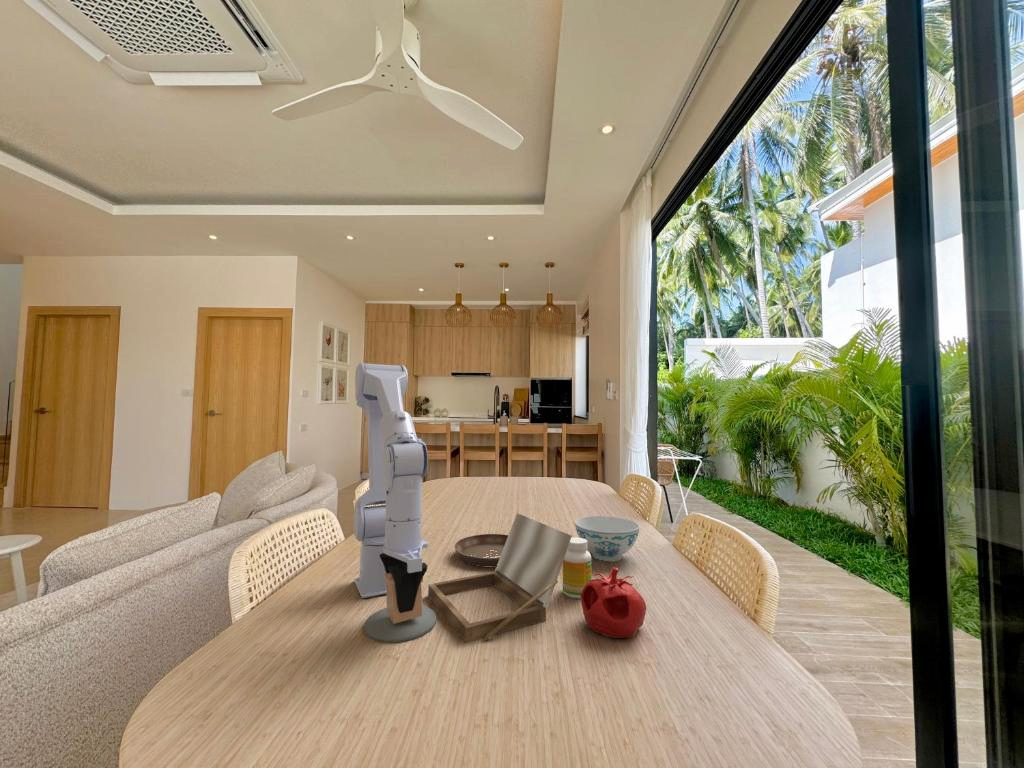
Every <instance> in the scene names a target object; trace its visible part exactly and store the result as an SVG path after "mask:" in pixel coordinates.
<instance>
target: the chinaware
mask: <svg viewBox="0 0 1024 768" xmlns="http://www.w3.org/2000/svg"><path fill="white" fill-rule="evenodd" d="M574 525H575V526H574V527H575V530H576V533H577V537H578V538H583V539H586V540H587V549H586V550H587V551H588V552H591V553H592V557H593V558H594V557H595V558H594V559H596V558H597V559H596V560H598V559H599V560H598V561H602V560H603V561H602V562H617V560H618V561H621V560H622V557H623V555H624V554H626V553H628V552H629V551H630V550H631V549H632V548H633V547H634V545H635V544H636V542H637V539H638V536H639V532H640V526H641V525H640V524H639V523H638V522H637V521H634V520H632V519H627V518H624V517H618V516H612V515H611V516H610V515H591V516H590V515H589V516H584V517H579V518H578V519H575V521H574Z"/></svg>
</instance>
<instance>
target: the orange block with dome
mask: <svg viewBox="0 0 1024 768" xmlns="http://www.w3.org/2000/svg"><path fill="white" fill-rule="evenodd" d="M384 580H385V581H386V594H385V595H386V597H385V598H386V608H387V613H388V615H389V617H390V619H391V621H392V622H393V624H395V623H398V622H402V621H406V620H409V619H413V618H416V617H420V616H422V606H423V599H422V598H423V597H422V583H424V577H423V578H422V580H421V582H420V585H419V588H418V592H417V596H416V600H415V604H414V608H413V610H412V611H408V612H403V613H400V612H399V610H398V606H397V599H396V590H395V584H394V581H393V578H392V575H391V573H387V574H384Z"/></svg>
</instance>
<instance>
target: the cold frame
mask: <svg viewBox="0 0 1024 768" xmlns="http://www.w3.org/2000/svg"><path fill="white" fill-rule="evenodd" d="M507 535H508V538H507V540H506V543H505V546H504V548H503V551H502V554H501V556H500V559H499V561H498V564H497V567H495V569H494V571H491V572H486V573H481V574H474V575H471V576H464V577H459V578H455V579H450V580H444V581H439V582H435V583H430V584H428V585H427V586H428V590H427V591H428V592H427V593H428V595H427V597H429V599H430V598H431V599H430V600H431V601H432V602H433V603H434V604H435V606H436V607H437V608H438V610H439V611H440V612H441V613H442V615H444V617H445V618H446V620H448V622H449V623H450V624H451V625H452V626H453V628H454V629H455V630H456V631H457V633H458V634H459V635H460V637H461V638H462V639H463V640H464V641H465V643H468V642H471V641H476V640H481V639H482V638H483V639H484V640H485V641H488V640H489V639H490V638H491V637H492V636H494V635H498V634H501V633H504V632H509V631H512V630H515V629H519V628H522V627H526V626H530V625H533V624H537V623H541V622H543V621H546V620H547V609H548V607H549V603H550V600H551V597H552V595H553V593H554V589H555V586H556V585H557V584H558V577H559V575H560V572H561V568H562V567H563V560H564V557H565V554H566V551H567V548H568V545H569V543H570V540H571V538H572V536H573V535H570V534H568V533H566V532H564V531H561V530H559V529H556V528H554V527H552V526H549V525H548V524H547V525H546V524H545V523H542V522H540V521H537V520H535V519H533V518H530V517H527V516H525V515H523V514H522V513H521V514H520V513H519V512H517V513H516V515H515V517H514V520H513V522H512V525H511V528H510V531H509V533H508V534H507ZM491 584H493V585H494V586H495V585H496V586H495V587H497V588H498V589H499V590H500V591H502V592H503V593H504V594H505V595H507V596H508V597H509V598H511V600H513V601H515V603H517V604H518V605H519V606H521V607H519V608H518V609H516V610H515V611H514V612H508V613H505V614H502V615H497V616H495V617H494V616H493V617H490V618H486V619H483V620H478V621H474V622H471V623H470V622H469V621H468V619H467V618H466V617H465V616H464V615H463V614H462V613H461V612H460V611H459V610H458V608H457V607H456V606H455V605H454V604H453V603H452V602H451V601H450V600H449V599H448V597H447V596H446V595H449V594H455V593H458V592H459V593H460V592H463V591H469V590H474V589H477V588H482V587H486V586H487V585H488V586H492V585H491Z"/></svg>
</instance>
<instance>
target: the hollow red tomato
mask: <svg viewBox="0 0 1024 768" xmlns="http://www.w3.org/2000/svg"><path fill="white" fill-rule="evenodd" d="M618 573H619V567H614V566H613V567H611V570H610V573H609V575H608V577H607V576H606V575H604V574H603V573H595V574H594V576H600V578H595V579H594V578H593V579H592V578H591V579H592V580H590V581H589V582H587V583H586V585H585V587H584V588H583V590H582V593H581V598H580V600H581V601H580V602H581V607H582V608H581V609H582V615H583V616H584V621H585V623H586V624H587V626H588V627H589V628H590V629H592V631H594V632H597V633H598V634H602V635H603V636H607V637H608V638H613V639H615V638H616V639H621V638H625V639H626V638H632V637H634V636H635V635H636V633H637V631H638V630H639V628H641V627H642V626H643V624H644V621H645V616H646V611H647V604H646V601H645V599H644V598H643V596H642V595H641V594H640V593H639V592H638V590H637V589H636V588H635V587H634V586H633V583H630V582H629V581H627V580H626V579H628V578H634V576H635V575H632V576H631V575H626V576H625V577H624V576H623V577H620V578H617V577H618Z"/></svg>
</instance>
